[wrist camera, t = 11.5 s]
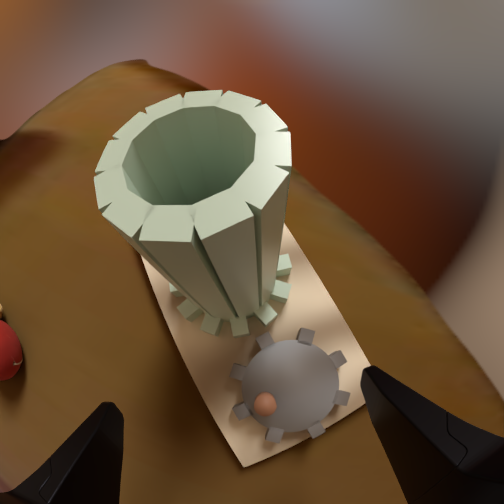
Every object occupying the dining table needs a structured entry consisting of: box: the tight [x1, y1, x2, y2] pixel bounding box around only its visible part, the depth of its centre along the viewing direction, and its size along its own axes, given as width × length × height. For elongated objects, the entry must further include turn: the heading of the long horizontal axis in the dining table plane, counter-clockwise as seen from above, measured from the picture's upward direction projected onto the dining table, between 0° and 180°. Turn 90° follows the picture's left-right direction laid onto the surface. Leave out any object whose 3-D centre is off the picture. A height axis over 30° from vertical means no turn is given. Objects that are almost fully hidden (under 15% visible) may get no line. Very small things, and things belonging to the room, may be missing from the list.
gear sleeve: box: [94, 90, 292, 338], centre depth 14 cm, size 8×8×13 cm
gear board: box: [141, 224, 370, 467], centre depth 18 cm, size 25×11×5 cm, turn 28°
